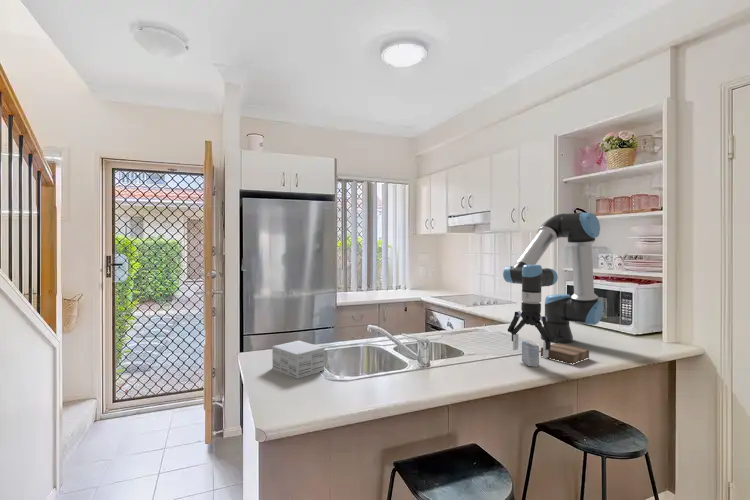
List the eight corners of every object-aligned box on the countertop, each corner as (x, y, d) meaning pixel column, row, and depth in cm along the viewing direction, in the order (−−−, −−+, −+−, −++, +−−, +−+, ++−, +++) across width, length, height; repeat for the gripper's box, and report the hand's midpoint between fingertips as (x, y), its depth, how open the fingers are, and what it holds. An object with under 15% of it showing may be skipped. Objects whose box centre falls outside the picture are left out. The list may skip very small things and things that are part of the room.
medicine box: (539, 367, 159) (539, 346, 159) (528, 367, 159) (528, 346, 159) (531, 361, 167) (532, 341, 167) (521, 361, 167) (521, 340, 167)
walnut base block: (557, 351, 182) (557, 342, 181) (588, 359, 170) (589, 349, 170) (540, 356, 173) (540, 347, 173) (572, 365, 162) (572, 355, 162)
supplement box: (325, 371, 154) (325, 347, 153) (297, 379, 144) (297, 354, 144) (299, 361, 165) (299, 339, 165) (271, 369, 156) (271, 345, 155)
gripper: (499, 299, 170) (498, 347, 171) (555, 307, 150) (554, 362, 151) (510, 297, 175) (509, 345, 175) (565, 305, 155) (564, 359, 155)
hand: (530, 353), depth 163 cm, fingers open, 13 cm apart
